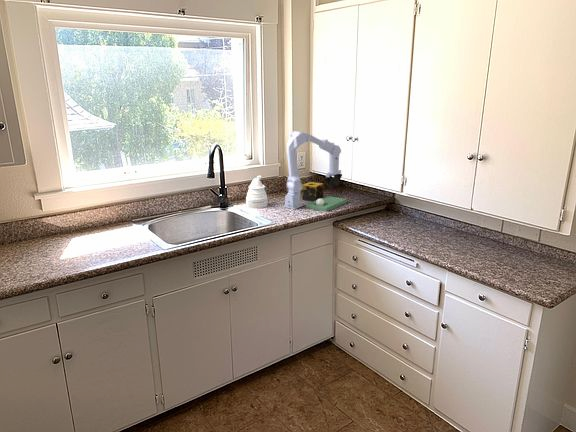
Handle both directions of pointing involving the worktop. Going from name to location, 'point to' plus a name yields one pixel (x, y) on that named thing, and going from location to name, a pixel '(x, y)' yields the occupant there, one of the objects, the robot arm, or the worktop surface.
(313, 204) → the green mat
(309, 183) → the yellow cube with hole
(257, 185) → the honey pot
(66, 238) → the worktop surface
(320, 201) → the ball
